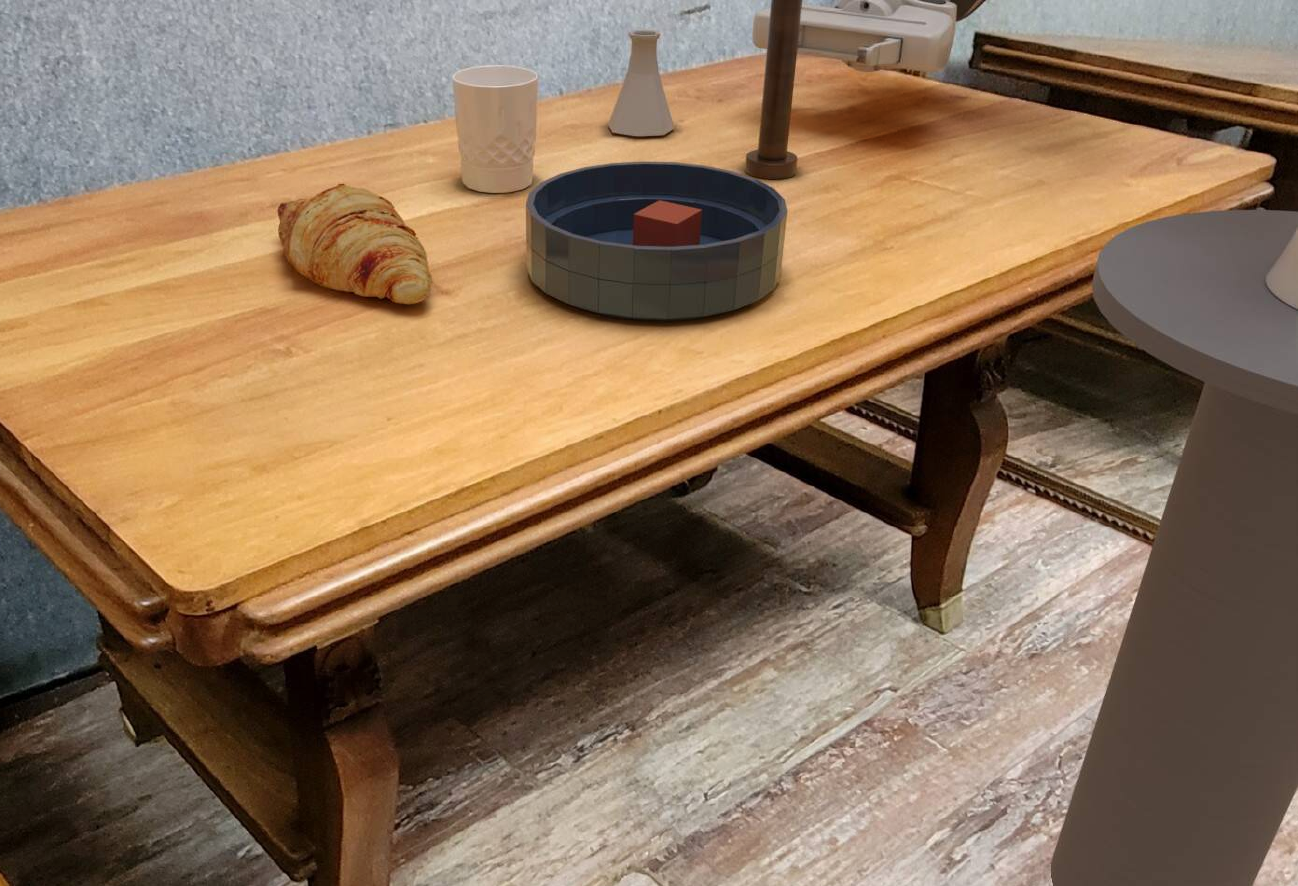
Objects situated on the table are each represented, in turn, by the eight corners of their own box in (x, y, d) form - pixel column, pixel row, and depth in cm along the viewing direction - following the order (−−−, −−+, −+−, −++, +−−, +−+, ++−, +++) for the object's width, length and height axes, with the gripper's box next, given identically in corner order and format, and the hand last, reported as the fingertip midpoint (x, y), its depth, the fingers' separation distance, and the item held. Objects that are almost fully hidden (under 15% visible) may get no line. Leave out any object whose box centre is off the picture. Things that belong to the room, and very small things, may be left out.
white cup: (548, 173, 121) (548, 68, 116) (524, 199, 115) (523, 89, 110) (473, 166, 123) (469, 62, 118) (444, 191, 117) (439, 82, 111)
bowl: (821, 261, 102) (829, 190, 99) (700, 349, 88) (706, 270, 85) (614, 213, 112) (616, 147, 109) (477, 286, 98) (474, 212, 95)
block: (699, 256, 102) (702, 209, 99) (674, 272, 99) (677, 223, 97) (657, 246, 103) (659, 199, 101) (631, 261, 101) (633, 213, 99)
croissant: (458, 344, 97) (495, 247, 95) (356, 319, 89) (394, 214, 87) (317, 260, 110) (346, 174, 108) (218, 233, 103) (248, 140, 101)
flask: (671, 140, 130) (676, 41, 125) (603, 137, 132) (605, 38, 126) (677, 121, 136) (682, 25, 131) (612, 118, 137) (614, 23, 132)
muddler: (804, 169, 122) (826, -27, 113) (782, 182, 119) (802, -18, 109) (759, 160, 125) (776, -33, 115) (735, 173, 121) (751, -24, 112)
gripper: (788, -17, 135) (727, 4, 125) (972, 5, 125) (922, 29, 116) (782, 44, 138) (723, 69, 129) (961, 69, 128) (911, 98, 119)
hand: (818, 50), depth 122 cm, fingers open, 8 cm apart
